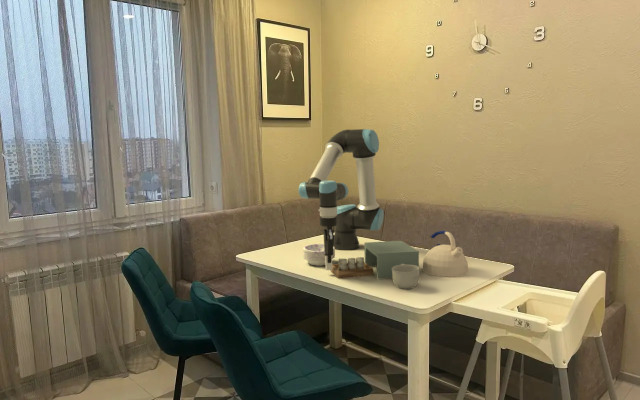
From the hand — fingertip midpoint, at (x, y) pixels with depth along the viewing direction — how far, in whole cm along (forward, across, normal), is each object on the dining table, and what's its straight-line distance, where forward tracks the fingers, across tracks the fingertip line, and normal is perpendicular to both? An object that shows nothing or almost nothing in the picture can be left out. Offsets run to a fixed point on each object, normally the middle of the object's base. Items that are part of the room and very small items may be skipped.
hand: (328, 269), depth 211 cm
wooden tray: (+3, 0, +10) cm, 11 cm away
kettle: (+3, +5, +52) cm, 52 cm away
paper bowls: (+3, -20, -1) cm, 20 cm away
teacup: (+3, +22, +27) cm, 35 cm away
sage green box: (+2, 0, +28) cm, 28 cm away
